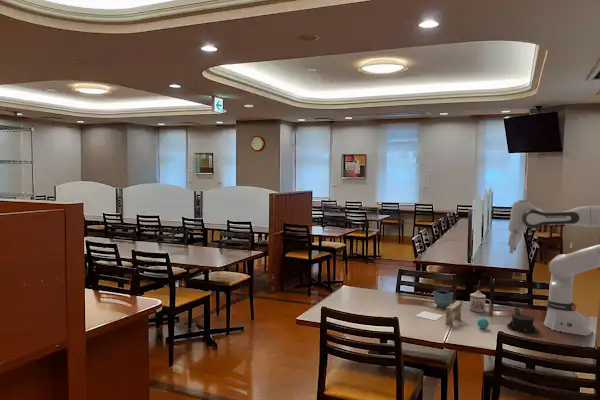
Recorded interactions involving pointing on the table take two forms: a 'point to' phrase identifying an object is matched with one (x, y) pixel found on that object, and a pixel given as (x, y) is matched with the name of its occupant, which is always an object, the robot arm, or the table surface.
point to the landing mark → (429, 315)
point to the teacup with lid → (478, 302)
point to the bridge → (450, 312)
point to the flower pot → (442, 298)
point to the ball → (483, 323)
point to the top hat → (522, 323)
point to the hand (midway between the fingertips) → (512, 251)
